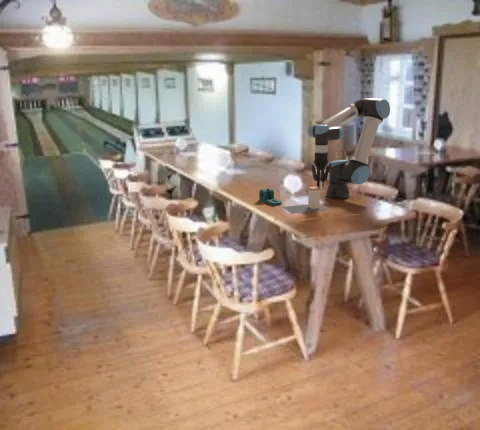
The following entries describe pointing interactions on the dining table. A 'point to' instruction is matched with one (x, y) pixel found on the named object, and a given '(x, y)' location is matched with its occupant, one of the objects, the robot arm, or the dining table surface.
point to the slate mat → (302, 209)
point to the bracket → (268, 197)
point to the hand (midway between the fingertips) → (319, 192)
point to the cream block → (314, 197)
